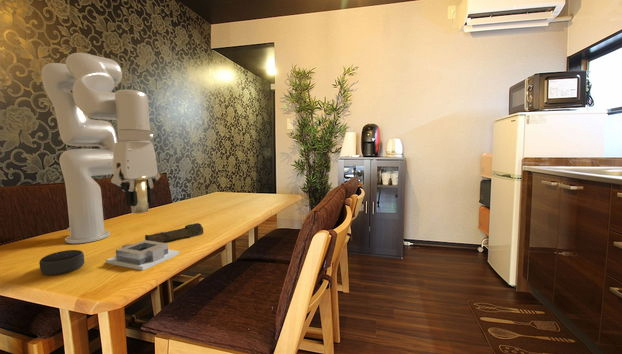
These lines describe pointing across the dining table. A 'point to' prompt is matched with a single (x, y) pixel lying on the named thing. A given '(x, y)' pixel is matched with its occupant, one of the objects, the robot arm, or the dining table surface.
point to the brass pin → (141, 195)
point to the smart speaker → (61, 262)
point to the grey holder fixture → (142, 252)
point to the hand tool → (177, 233)
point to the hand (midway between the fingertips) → (139, 203)
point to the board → (146, 265)
